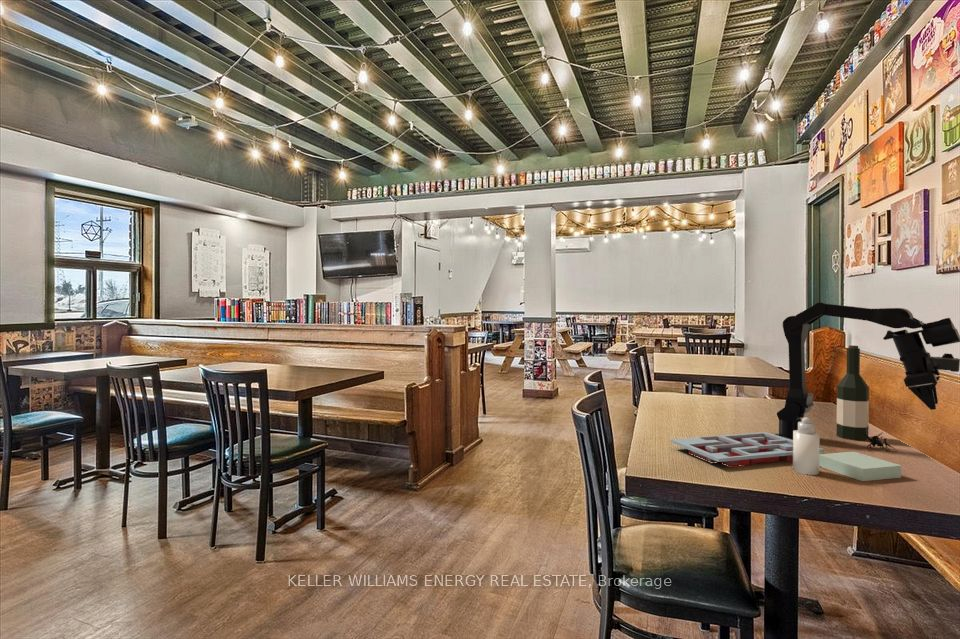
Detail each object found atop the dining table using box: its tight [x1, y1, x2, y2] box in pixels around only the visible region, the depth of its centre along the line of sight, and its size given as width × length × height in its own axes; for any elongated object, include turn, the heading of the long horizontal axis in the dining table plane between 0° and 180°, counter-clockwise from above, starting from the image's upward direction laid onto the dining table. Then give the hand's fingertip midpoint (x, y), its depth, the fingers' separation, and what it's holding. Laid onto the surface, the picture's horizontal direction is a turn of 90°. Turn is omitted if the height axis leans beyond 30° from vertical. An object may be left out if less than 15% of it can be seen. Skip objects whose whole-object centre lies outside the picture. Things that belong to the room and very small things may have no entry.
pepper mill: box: [792, 416, 821, 476], centre depth 123 cm, size 6×6×14 cm
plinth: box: [819, 451, 902, 482], centre depth 123 cm, size 12×12×3 cm
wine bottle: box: [836, 344, 870, 442], centre depth 156 cm, size 8×8×30 cm
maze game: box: [669, 431, 825, 467], centre depth 138 cm, size 35×20×3 cm, turn 105°
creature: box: [862, 432, 898, 453], centre depth 142 cm, size 8×5×8 cm
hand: (934, 406), depth 130 cm, fingers open, 9 cm apart
